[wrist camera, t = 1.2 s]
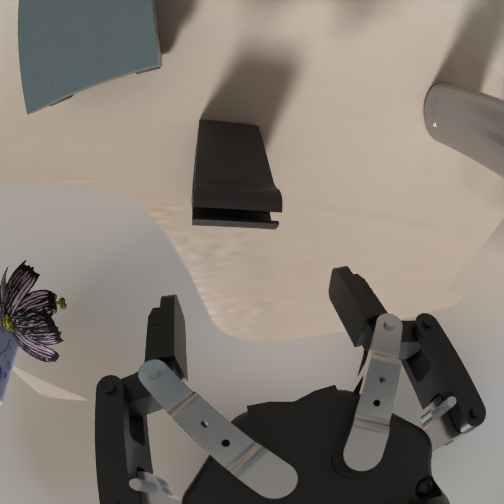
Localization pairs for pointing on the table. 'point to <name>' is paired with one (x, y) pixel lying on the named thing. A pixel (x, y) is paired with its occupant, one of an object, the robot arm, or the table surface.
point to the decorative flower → (30, 313)
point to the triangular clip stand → (233, 178)
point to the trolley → (83, 45)
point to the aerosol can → (6, 357)
